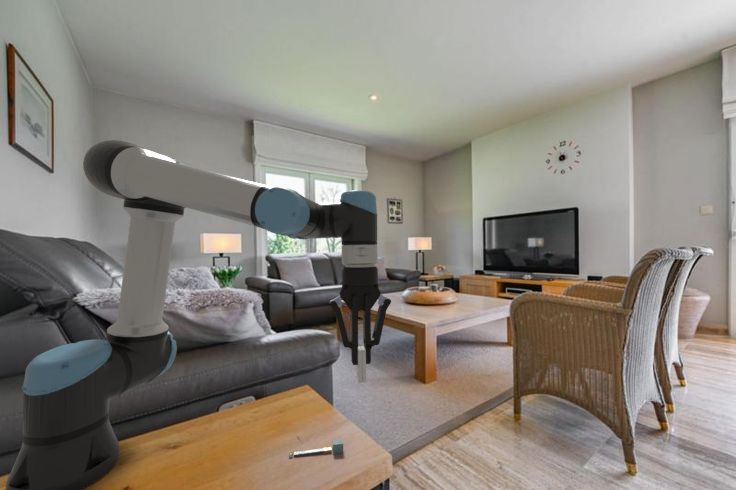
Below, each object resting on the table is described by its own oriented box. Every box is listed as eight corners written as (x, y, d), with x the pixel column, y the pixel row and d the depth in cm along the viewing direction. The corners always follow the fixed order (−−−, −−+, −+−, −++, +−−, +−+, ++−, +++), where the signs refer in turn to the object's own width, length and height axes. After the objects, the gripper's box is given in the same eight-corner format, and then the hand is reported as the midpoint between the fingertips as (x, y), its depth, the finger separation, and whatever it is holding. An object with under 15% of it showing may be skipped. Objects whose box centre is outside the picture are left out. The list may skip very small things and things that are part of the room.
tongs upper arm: (289, 459, 60) (289, 455, 60) (289, 455, 61) (289, 452, 61) (331, 453, 62) (331, 450, 62) (331, 450, 63) (331, 446, 63)
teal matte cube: (333, 460, 61) (333, 444, 61) (332, 454, 63) (332, 439, 63) (343, 459, 62) (343, 443, 62) (342, 453, 63) (342, 438, 64)
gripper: (328, 267, 59) (330, 390, 58) (394, 265, 61) (396, 384, 61) (327, 265, 66) (328, 375, 66) (386, 264, 69) (388, 370, 68)
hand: (361, 379), depth 63 cm, fingers closed
